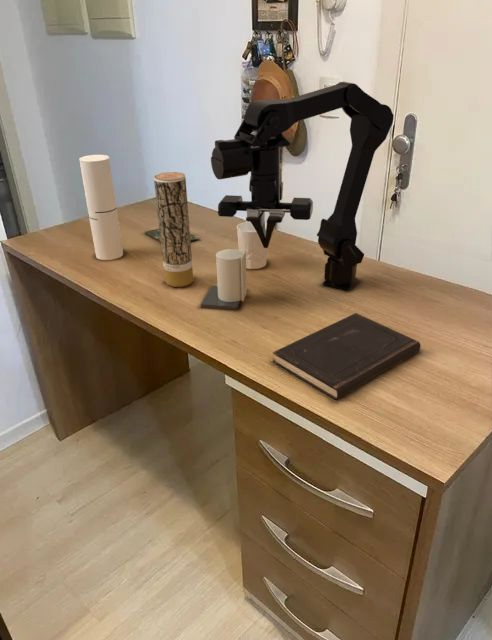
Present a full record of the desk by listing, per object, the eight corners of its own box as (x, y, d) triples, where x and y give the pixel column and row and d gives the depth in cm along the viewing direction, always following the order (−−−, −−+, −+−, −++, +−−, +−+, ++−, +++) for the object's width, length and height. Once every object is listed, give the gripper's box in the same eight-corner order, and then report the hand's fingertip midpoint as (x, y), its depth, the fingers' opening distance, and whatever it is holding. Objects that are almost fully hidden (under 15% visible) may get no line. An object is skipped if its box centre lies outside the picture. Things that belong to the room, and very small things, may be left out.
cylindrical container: (119, 260, 146) (105, 161, 132) (92, 260, 146) (75, 161, 132) (125, 249, 152) (112, 154, 138) (99, 250, 152) (83, 154, 138)
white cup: (256, 273, 137) (255, 234, 132) (231, 265, 142) (230, 227, 136) (274, 262, 143) (275, 224, 137) (250, 256, 147) (249, 219, 141)
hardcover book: (272, 362, 103) (272, 351, 102) (354, 322, 115) (355, 312, 114) (337, 401, 93) (338, 390, 91) (419, 352, 105) (421, 342, 104)
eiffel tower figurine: (143, 233, 162) (137, 187, 155) (173, 226, 168) (169, 181, 160) (168, 248, 152) (163, 199, 145) (200, 240, 157) (196, 192, 150)
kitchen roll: (246, 249, 121) (219, 248, 122) (241, 260, 117) (212, 258, 118) (247, 291, 127) (221, 289, 128) (242, 303, 122) (215, 301, 123)
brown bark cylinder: (188, 289, 130) (179, 180, 117) (161, 287, 131) (149, 179, 118) (197, 277, 136) (189, 172, 122) (170, 275, 137) (159, 171, 123)
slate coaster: (245, 290, 129) (245, 287, 129) (236, 310, 121) (236, 306, 120) (212, 288, 130) (211, 285, 130) (201, 307, 122) (200, 304, 122)
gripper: (317, 162, 114) (314, 235, 122) (228, 160, 117) (231, 232, 126) (311, 177, 105) (308, 255, 113) (215, 174, 108) (219, 250, 116)
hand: (266, 247), depth 117 cm, fingers closed
